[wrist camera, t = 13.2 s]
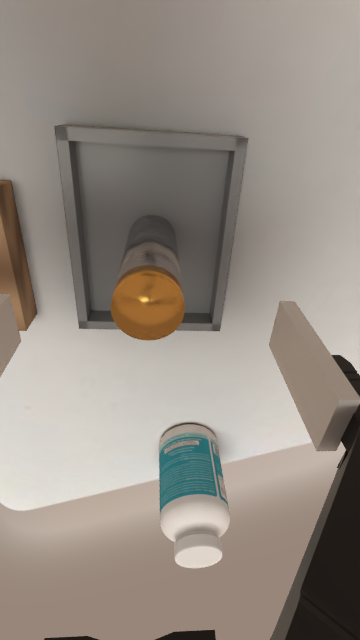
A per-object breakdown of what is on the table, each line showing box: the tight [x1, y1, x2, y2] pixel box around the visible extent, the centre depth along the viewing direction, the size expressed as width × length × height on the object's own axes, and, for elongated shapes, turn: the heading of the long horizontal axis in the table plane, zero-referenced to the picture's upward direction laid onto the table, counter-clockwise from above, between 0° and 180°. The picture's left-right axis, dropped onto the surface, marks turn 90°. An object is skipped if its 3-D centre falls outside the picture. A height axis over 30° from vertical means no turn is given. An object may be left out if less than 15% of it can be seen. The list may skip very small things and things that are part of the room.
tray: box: [54, 125, 248, 331], centre depth 28 cm, size 16×13×2 cm
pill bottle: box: [159, 424, 230, 568], centre depth 38 cm, size 8×7×14 cm
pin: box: [111, 215, 185, 340], centre depth 23 cm, size 4×4×12 cm
